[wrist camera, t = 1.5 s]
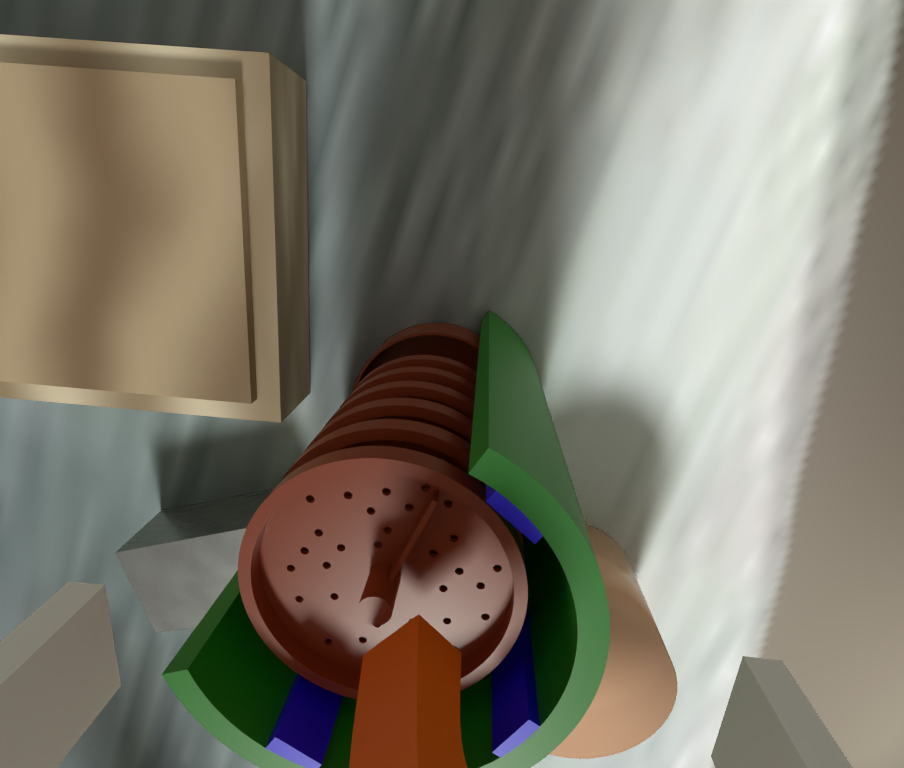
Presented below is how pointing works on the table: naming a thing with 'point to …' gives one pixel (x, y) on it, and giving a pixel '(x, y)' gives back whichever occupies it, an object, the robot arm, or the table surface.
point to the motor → (411, 578)
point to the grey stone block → (187, 558)
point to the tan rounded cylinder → (624, 667)
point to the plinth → (153, 228)
